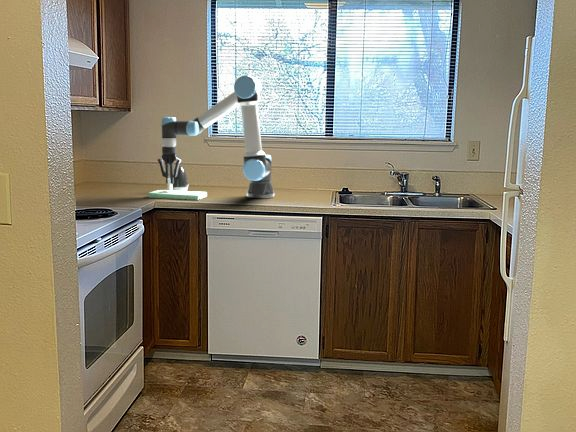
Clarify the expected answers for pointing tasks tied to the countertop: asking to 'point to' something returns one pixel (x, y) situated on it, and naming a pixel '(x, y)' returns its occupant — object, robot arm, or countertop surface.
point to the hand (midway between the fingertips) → (170, 189)
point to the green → (177, 194)
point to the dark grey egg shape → (180, 180)
